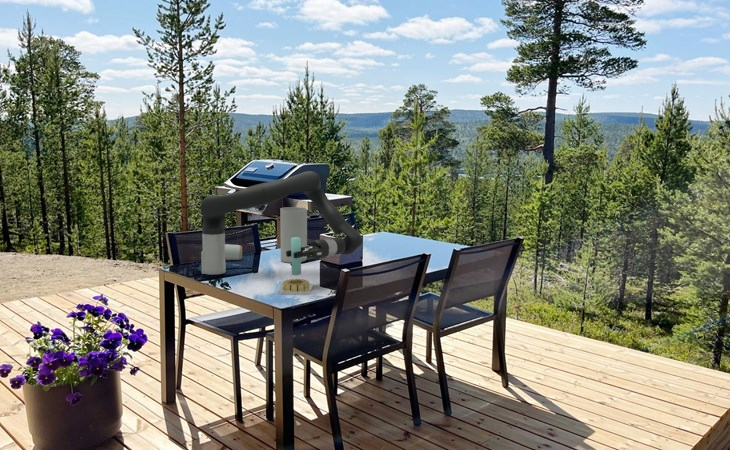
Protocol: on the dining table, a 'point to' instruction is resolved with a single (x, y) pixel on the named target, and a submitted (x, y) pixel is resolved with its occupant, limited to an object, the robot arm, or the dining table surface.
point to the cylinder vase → (292, 229)
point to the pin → (295, 261)
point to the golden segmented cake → (296, 287)
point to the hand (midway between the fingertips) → (290, 254)
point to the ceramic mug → (233, 252)
